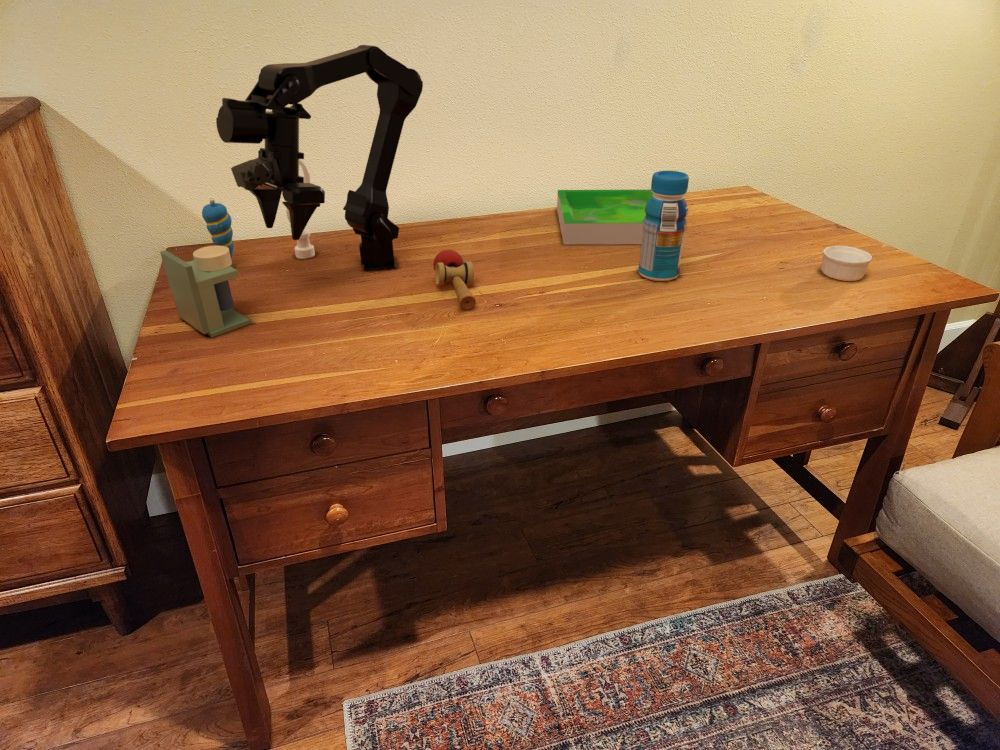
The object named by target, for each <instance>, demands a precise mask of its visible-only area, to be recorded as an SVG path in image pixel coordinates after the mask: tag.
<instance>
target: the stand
mask: <svg viewBox="0 0 1000 750" xmlns="http://www.w3.org/2000/svg"><path fill="white" fill-rule="evenodd" d="M159 254H160V257H161V260H162V264H163V267H164V271H165V274H166V277H167V281H168V284H169V285H168V286H169V288H170V292H171V295H172V298H173V302H174V305H175V309H176V312H177V315H178V317H179V318H180V319H181V320H183V321H184V322H186V323H187V324H188V325H190V326H192V327H193V328H194V329H195V330H197V331H198V332H200V333H201V334H202V335H207V336H209V337H210V338H215V337H218V336H220V335H224V334H226V333H229V332H232V331H235V330H237V329H240V328H243V327H246V326H248V325H251V324H252V322H251V319H250V318H248V317H247V316H245V315H243V314H242V313H240V312H239V311H237V310H236V309H234V308H232V309H230V310H226V311H220V308H219V304H218V300H217V296H216V292H215V288H214V284H217V283H220V282H223V281H227V280H228V281H229V280H234V279H236V278H239V277H240V275H239V271H238V269H236V268H234V267H233V266H229V267H227V268H225V269H222V270H218V271H212V272H205V271H200V270H198V269H197V268H196V265H195V261H194V259H192V260H190V261H185V260H183V259H181V258H179V257H178V256H176V255H175V254H172V253H171V252H169V251H168V250H161V251H159Z"/></svg>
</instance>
